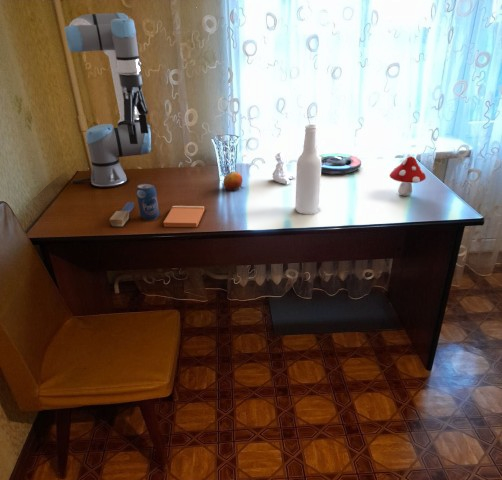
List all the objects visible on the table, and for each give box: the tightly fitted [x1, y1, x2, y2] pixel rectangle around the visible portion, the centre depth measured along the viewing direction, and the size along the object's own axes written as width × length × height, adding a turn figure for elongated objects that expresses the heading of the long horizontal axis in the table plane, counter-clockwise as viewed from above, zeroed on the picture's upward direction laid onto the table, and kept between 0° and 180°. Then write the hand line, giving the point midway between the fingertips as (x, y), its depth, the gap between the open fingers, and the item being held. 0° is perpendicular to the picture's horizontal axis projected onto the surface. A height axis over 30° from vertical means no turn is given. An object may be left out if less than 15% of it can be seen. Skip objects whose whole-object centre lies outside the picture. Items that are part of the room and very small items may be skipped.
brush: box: [109, 201, 135, 227], centre depth 179 cm, size 5×18×3 cm, turn 174°
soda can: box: [135, 182, 160, 221], centre depth 175 cm, size 7×7×12 cm
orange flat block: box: [162, 205, 205, 228], centre depth 177 cm, size 12×16×2 cm
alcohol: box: [295, 124, 322, 215], centre depth 173 cm, size 9×9×30 cm
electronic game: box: [318, 153, 362, 175], centre depth 221 cm, size 23×23×5 cm
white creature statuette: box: [271, 151, 294, 185], centre depth 205 cm, size 10×9×12 cm
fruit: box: [223, 171, 243, 192], centre depth 200 cm, size 8×8×8 cm
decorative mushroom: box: [389, 156, 427, 197], centre depth 188 cm, size 14×14×15 cm
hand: (139, 138), depth 176 cm, fingers open, 13 cm apart
